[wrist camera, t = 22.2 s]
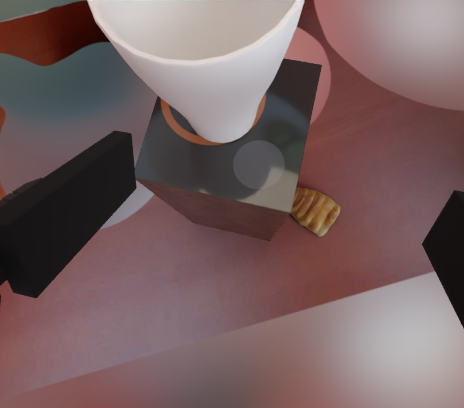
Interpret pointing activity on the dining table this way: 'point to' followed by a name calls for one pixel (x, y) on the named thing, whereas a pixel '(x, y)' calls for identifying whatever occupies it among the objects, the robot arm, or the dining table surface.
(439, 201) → the dining table surface
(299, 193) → the pastry
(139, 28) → the cup
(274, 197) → the hob plate
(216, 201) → the stove stand
